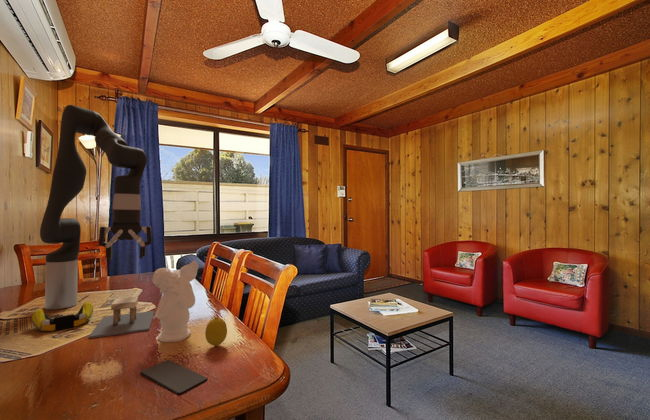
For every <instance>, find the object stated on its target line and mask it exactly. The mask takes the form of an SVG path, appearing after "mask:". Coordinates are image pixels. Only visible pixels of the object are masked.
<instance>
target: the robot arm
mask: <svg viewBox="0 0 650 420" xmlns="http://www.w3.org/2000/svg"><path fill="white" fill-rule="evenodd" d="M76 133H77V134H81V135H86V136H93V137H94V141H95V144H96V146H97V147H98V148H99V149H100V150H101V151H102V152H104V154H105V155H106V157H107V161H108V163H109V164H111V165H112V166H114V167H116V168H120V169H121V168H123V169H129V171H128V173H127V174H123V175H117V176H115V178H114V180H113V181H114V182H113V183H114V184H113V189H114V191H113V197H112V198H113V200H112V205H111V206H112V225H111V226H104V225H103V226H100V227H99V235H98V246H100V247H103V248H105V258H106V259H107V260H109V261H112V259H113V247H112V246H114V244H115V243H116V242H117V241H118V240H119V241H124V240H128V241H132V240H134V241H136V242H137V244H139V246H140V247H139V259H144V257H145V256H146V249H147V246H149V245H151V244H152V243H153V235H152V234H153V233H152V226H151V225H148V226H142V225H141V209H142V208H141V207H142V205H141V204H142V201H141V183H142V182H141V181H142V179H143V175H144V173H145V168H146V166H147V162H148V158H147V154H146V153H145V151H144V150H143V149H142V148H140V147H139V148H138V147H133V146H129V145H128V143H127V142H126V141H125V140H124V139H123V138H122V137H121V136H120V135H118V134H117V133H116V132H114V131H113V130H112V128H111V127H110V125H109V124H108V122H107V121H106V120H105V119H104V117H103V116H102V115H101V114H100V113H99V112H97V111H94V110H91V109H89V108H85V107H81V106H79V105H78V106H77V105H74V104H68V105H66V106H65V107H64V108H63V111H62V114H61V119H60V129H59V138H58V139H59V141H58V148H57V155H56V159H55V164H54V168H53V170H52V171H53V172H52V177H51V183H50V184H51V185H50V189H49V196H48V200H47V204H46V208H45V211H44V214H43V217H42V220H41V224H40V227H39V237H40V240H41V241H42V242H43V243H44V244H62V245H61V246H60V247H59V248H57V249H56V250H53V251H51V252H49V253H47V254H46V255H45V285H44V287H45V290H44V291H45V293H44V294H45V298H44V302H45V303H44V308H45V310H62V309H66V308H71V307H73V306H76V305H78V275H79V274H78V273H79V272H78V271H79V270H78V265H79V264H78V262H79V261H78V259H79V258H78V257H79V253H80V249H81V248H80V247H81V246H80V245H81V235H82V234H81V231H82V228H81V223H80V222H79V220H78V219H77V218H73V217H72V218H71V217H69V218H68V217H67V218H63V217H62V214H63V211H64V210H65V208H66V207H67V206H68V205H69V203H70V202H72V201H73V200H74V199H75V198H76V197H77V196H78V195H79V194H80V193H81V192H82V191H83V189H84V185H85V181H86V177H87V167H86V164H85V163H84V161H83V159H82V156H81V155H80V153H79V152H78V151H79V150H78V149H77V146H76V145H77V144H76ZM61 217H62V218H61ZM110 231H111V233H112V234H113V236H112V238H110V240H109V241H108V242H106V236H107V234H109V232H110ZM142 231H143V233H144V234H146V241H144V239H143V238H142V237H141V236H140V235H139V234H140V233H141V232H142Z"/></svg>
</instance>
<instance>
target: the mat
mask: <svg viewBox="0 0 650 420" xmlns="http://www.w3.org/2000/svg"><path fill="white" fill-rule="evenodd" d="M154 315H155V310H150V311H140V312H136V319H135V320H134V324H130V313H123V314H121V321H118V325H117V326H113V315H105V316H103V317H102V318H101V320H100V321H99V322H98V323H97V325H96V326H95V327H94V328H93V330H92V331H91V333H90V334H89V335H88V339H95V338H102V337H108V336H110V337H111V336H118V335H125V334H133V333H139V332H147V331H148V332H149V331H150V328H151V325H152V322H153V319H154Z"/></svg>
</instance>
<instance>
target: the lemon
mask: <svg viewBox="0 0 650 420" xmlns="http://www.w3.org/2000/svg"><path fill="white" fill-rule="evenodd" d="M204 334H205V340H206V342H207V343H208V344H209V345H211V346H213V347H215V346H217V347H218V346H219V345H221V344H222V343H224V342H225V340H226V338H227V335H228V327H227V323H226V321H225V320H224V319H223V318H221V317H218V316H216V317H214V318H212V319H210V320H209V321H208V323H207V325H206V327H205V333H204Z"/></svg>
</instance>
